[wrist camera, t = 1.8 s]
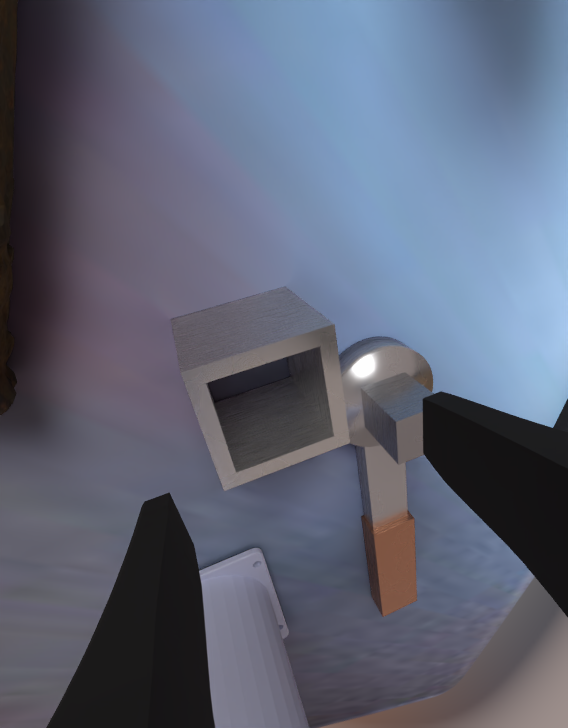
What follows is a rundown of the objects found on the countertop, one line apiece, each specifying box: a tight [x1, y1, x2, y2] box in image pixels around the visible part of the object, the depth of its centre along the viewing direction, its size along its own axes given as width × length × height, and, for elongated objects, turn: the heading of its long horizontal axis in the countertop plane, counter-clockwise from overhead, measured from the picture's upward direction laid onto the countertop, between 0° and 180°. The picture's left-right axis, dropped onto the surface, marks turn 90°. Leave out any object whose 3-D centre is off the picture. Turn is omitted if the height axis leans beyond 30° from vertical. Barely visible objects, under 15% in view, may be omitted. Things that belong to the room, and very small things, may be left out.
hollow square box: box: [171, 287, 350, 491], centre depth 15 cm, size 5×5×5 cm
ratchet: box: [339, 337, 434, 617], centre depth 22 cm, size 21×6×4 cm, turn 12°
